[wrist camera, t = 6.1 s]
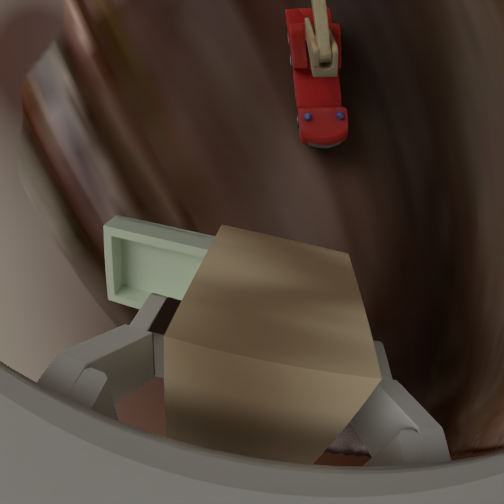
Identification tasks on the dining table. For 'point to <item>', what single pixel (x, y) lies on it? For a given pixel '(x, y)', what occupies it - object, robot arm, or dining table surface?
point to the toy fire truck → (317, 75)
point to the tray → (150, 259)
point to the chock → (268, 349)
